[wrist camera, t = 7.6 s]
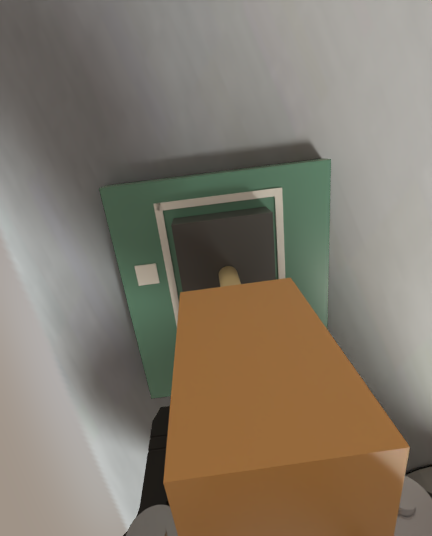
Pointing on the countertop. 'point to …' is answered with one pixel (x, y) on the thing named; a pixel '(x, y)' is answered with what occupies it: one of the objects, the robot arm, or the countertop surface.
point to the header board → (146, 245)
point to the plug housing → (274, 423)
